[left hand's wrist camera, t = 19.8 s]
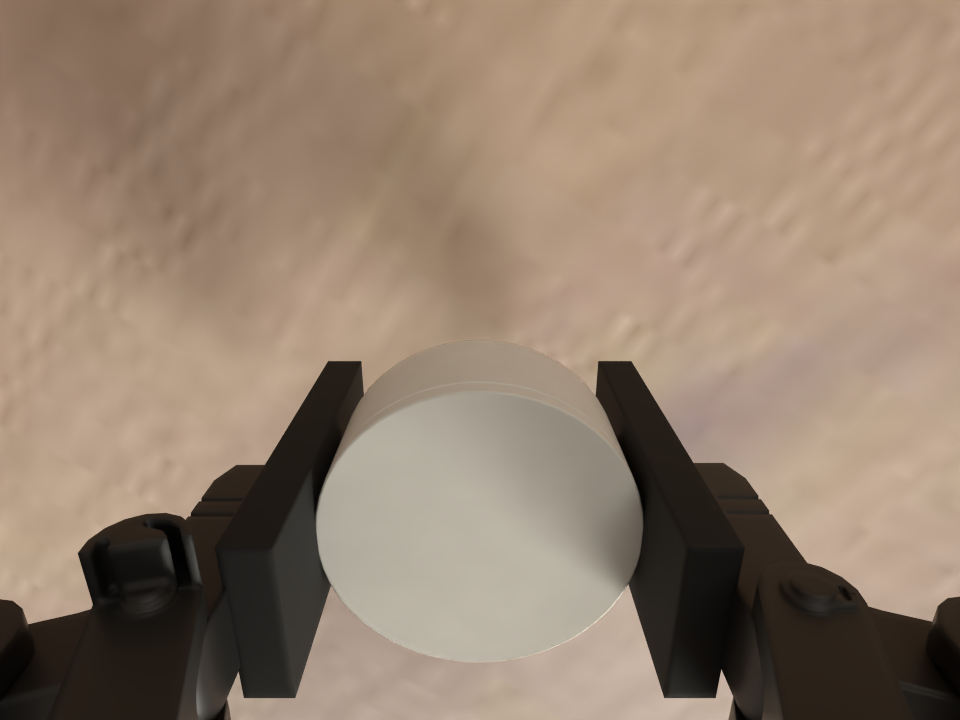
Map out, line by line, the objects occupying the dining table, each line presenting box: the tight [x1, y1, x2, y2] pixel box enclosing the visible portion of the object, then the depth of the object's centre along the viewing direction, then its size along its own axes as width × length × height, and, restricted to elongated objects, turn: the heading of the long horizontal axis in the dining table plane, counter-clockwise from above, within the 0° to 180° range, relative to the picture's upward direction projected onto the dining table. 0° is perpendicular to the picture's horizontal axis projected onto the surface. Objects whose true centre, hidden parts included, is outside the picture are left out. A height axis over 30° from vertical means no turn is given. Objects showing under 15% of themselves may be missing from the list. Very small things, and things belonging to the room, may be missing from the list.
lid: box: [315, 340, 643, 662], centre depth 11 cm, size 6×6×2 cm
